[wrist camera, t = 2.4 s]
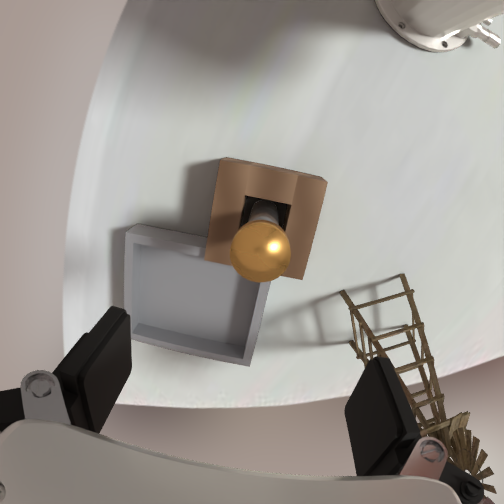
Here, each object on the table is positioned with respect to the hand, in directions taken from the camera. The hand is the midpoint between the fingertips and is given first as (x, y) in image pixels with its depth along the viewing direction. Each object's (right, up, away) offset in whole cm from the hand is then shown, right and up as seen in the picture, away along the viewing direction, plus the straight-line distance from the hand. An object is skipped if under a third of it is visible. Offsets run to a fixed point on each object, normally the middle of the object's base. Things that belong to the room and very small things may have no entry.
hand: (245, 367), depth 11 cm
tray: (-6, 0, +26) cm, 27 cm away
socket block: (+2, +9, +22) cm, 24 cm away
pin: (+2, +9, +22) cm, 24 cm away
